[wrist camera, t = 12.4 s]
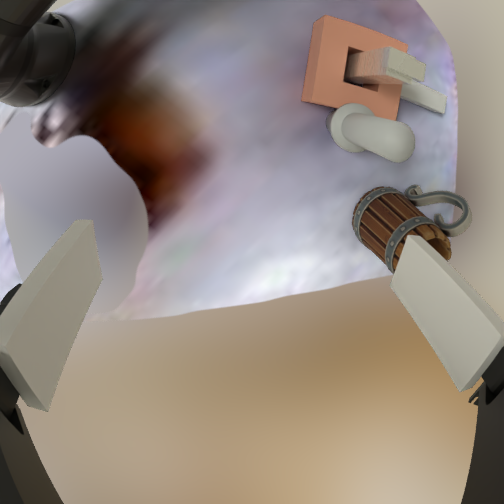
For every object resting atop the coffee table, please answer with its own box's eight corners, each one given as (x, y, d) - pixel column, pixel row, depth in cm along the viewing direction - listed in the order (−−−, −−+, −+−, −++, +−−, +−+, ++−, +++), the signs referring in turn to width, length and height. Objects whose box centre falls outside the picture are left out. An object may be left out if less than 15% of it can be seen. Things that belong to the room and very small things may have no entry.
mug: (371, 255, 50) (412, 309, 37) (337, 215, 45) (380, 266, 32) (433, 197, 45) (488, 236, 32) (407, 152, 41) (469, 181, 28)
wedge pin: (332, 77, 35) (386, 72, 22) (335, 56, 33) (390, 42, 20) (360, 85, 35) (422, 87, 22) (363, 65, 34) (426, 59, 21)
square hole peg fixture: (295, 136, 39) (335, 162, 25) (313, 22, 31) (363, -11, 17) (420, 166, 42) (486, 201, 28) (439, 70, 34) (511, 77, 20)
